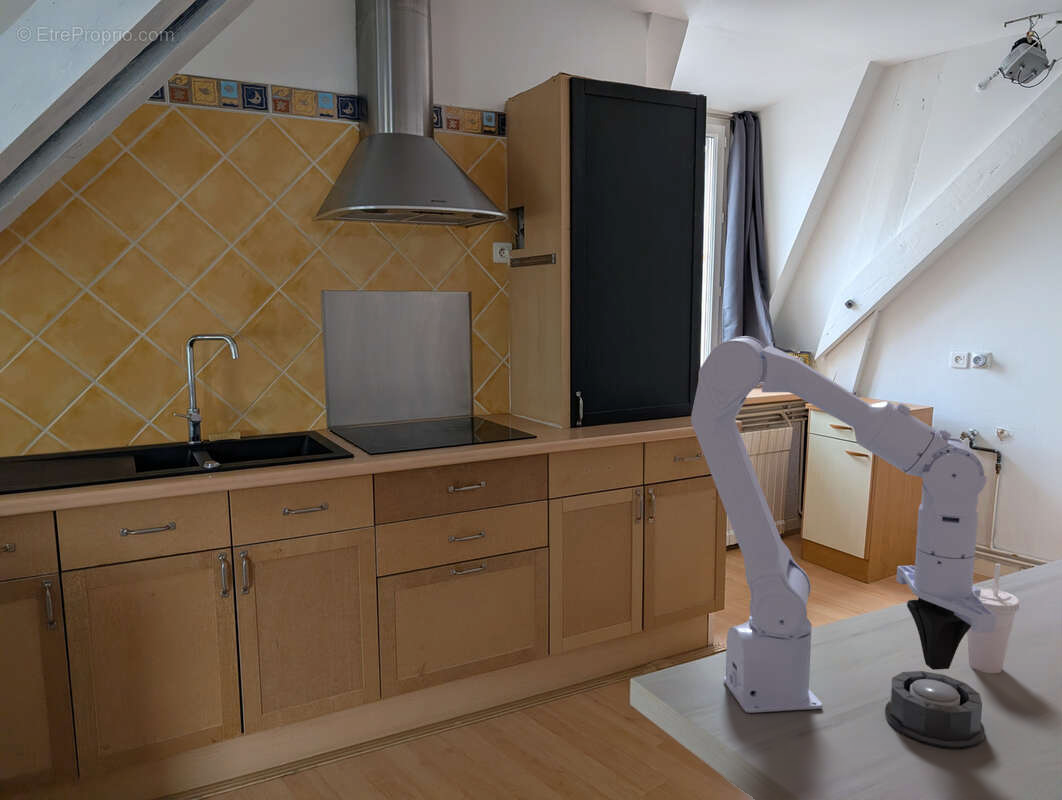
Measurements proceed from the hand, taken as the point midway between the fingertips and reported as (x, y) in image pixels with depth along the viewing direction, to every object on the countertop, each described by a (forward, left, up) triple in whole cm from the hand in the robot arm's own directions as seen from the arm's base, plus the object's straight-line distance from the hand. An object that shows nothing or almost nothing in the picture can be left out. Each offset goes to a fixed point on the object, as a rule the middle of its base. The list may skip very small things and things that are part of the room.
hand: (937, 666), depth 85 cm
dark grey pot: (0, 0, -7) cm, 7 cm away
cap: (0, 0, -6) cm, 6 cm away
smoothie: (+15, +12, -7) cm, 20 cm away
